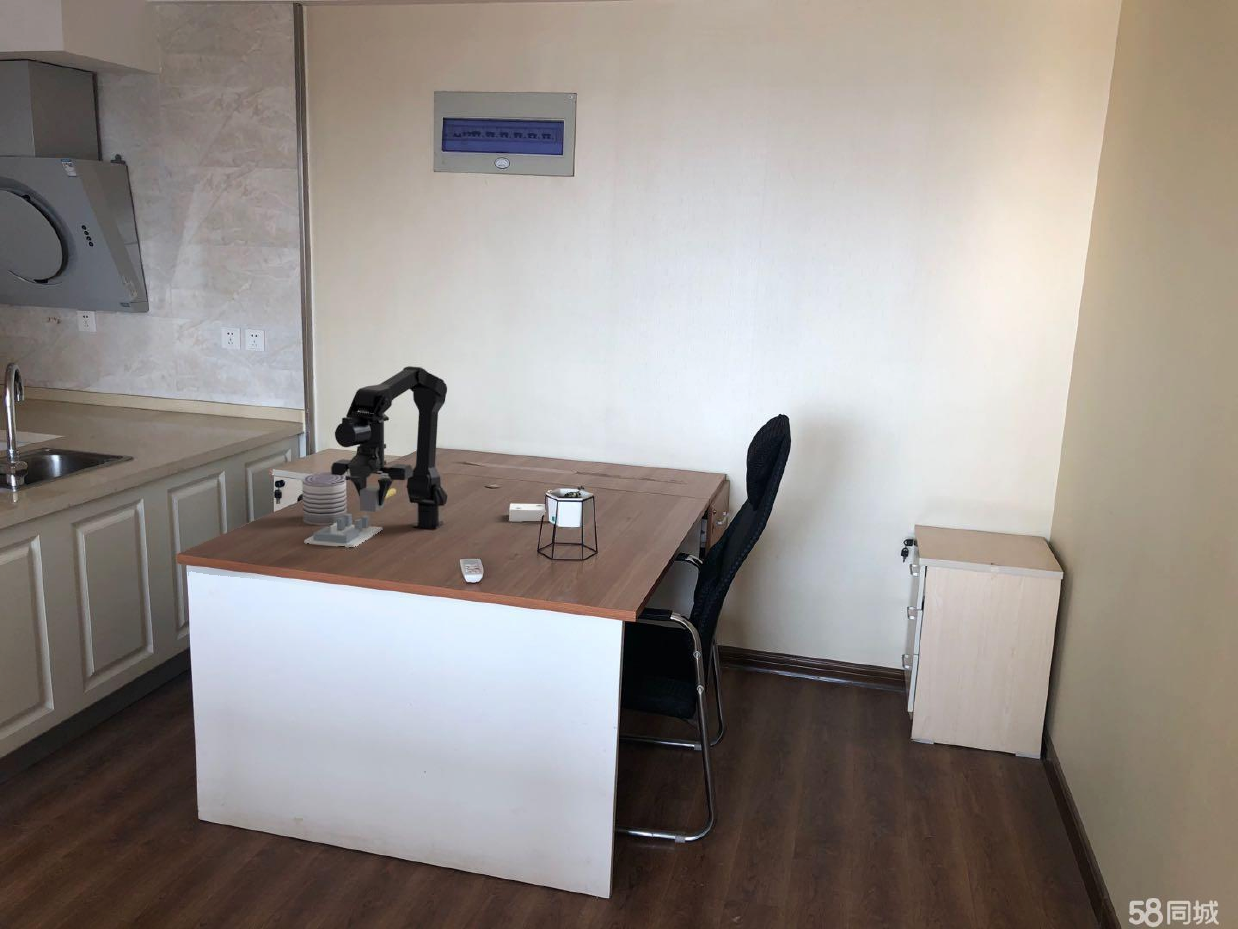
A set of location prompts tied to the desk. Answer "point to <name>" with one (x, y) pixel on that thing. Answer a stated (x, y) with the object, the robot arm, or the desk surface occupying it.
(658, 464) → the desk surface
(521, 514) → the bracket
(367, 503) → the plug
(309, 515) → the can
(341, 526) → the board
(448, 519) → the desk surface
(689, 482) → the desk surface
